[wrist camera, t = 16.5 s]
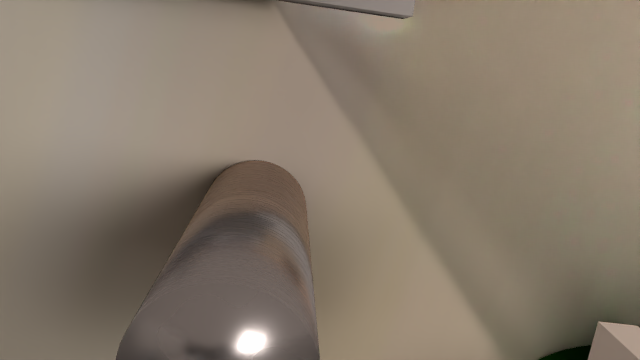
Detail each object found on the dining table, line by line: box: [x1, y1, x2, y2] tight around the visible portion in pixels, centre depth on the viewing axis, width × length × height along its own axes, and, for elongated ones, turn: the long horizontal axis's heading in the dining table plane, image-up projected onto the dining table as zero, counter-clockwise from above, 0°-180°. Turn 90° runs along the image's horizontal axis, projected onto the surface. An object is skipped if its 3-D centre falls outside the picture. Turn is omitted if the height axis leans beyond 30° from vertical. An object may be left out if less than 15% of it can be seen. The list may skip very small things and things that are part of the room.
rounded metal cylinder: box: [116, 160, 320, 360], centre depth 14 cm, size 4×4×10 cm
